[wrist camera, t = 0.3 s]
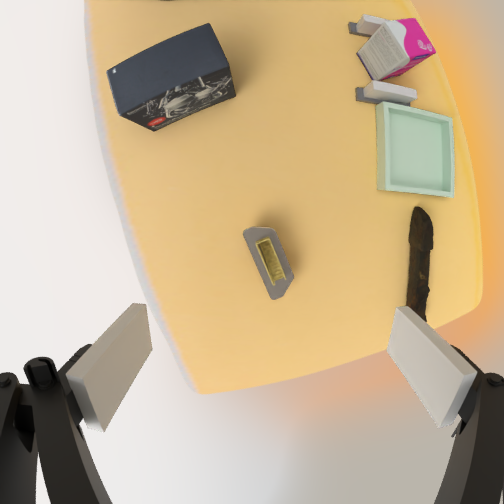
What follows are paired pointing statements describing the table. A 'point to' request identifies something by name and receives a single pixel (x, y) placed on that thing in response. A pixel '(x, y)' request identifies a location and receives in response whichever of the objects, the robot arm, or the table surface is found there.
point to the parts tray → (414, 150)
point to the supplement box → (395, 49)
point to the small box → (172, 79)
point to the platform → (269, 259)
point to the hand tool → (419, 261)
